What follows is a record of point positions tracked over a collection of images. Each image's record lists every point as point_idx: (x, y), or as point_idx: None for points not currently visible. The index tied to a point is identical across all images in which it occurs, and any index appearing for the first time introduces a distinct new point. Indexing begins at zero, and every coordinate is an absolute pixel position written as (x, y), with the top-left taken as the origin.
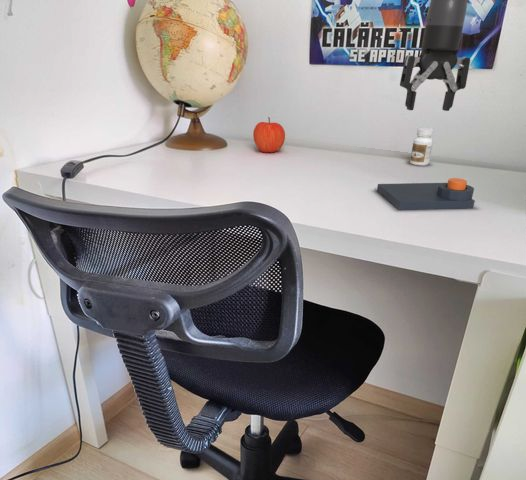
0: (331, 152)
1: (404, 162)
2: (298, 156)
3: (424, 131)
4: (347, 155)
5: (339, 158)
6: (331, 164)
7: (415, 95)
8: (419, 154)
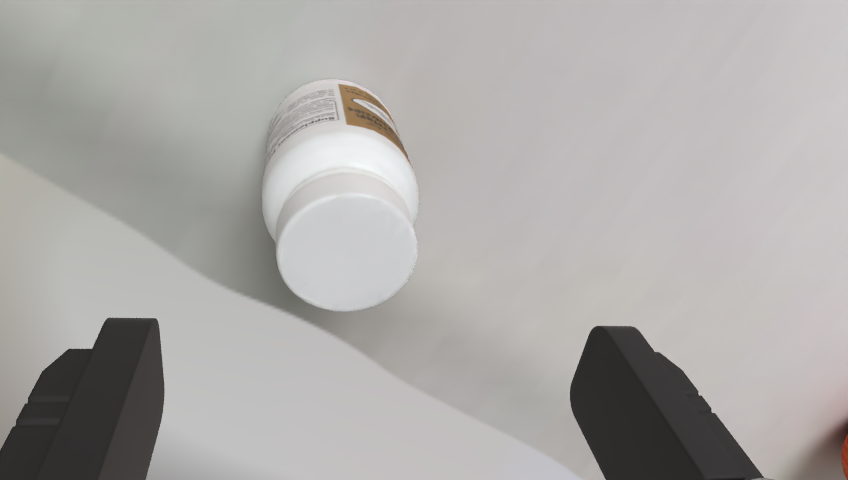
0: None
1: None
2: (836, 348)
3: (389, 197)
4: None
5: (697, 303)
6: (821, 194)
7: (685, 438)
8: (382, 114)
